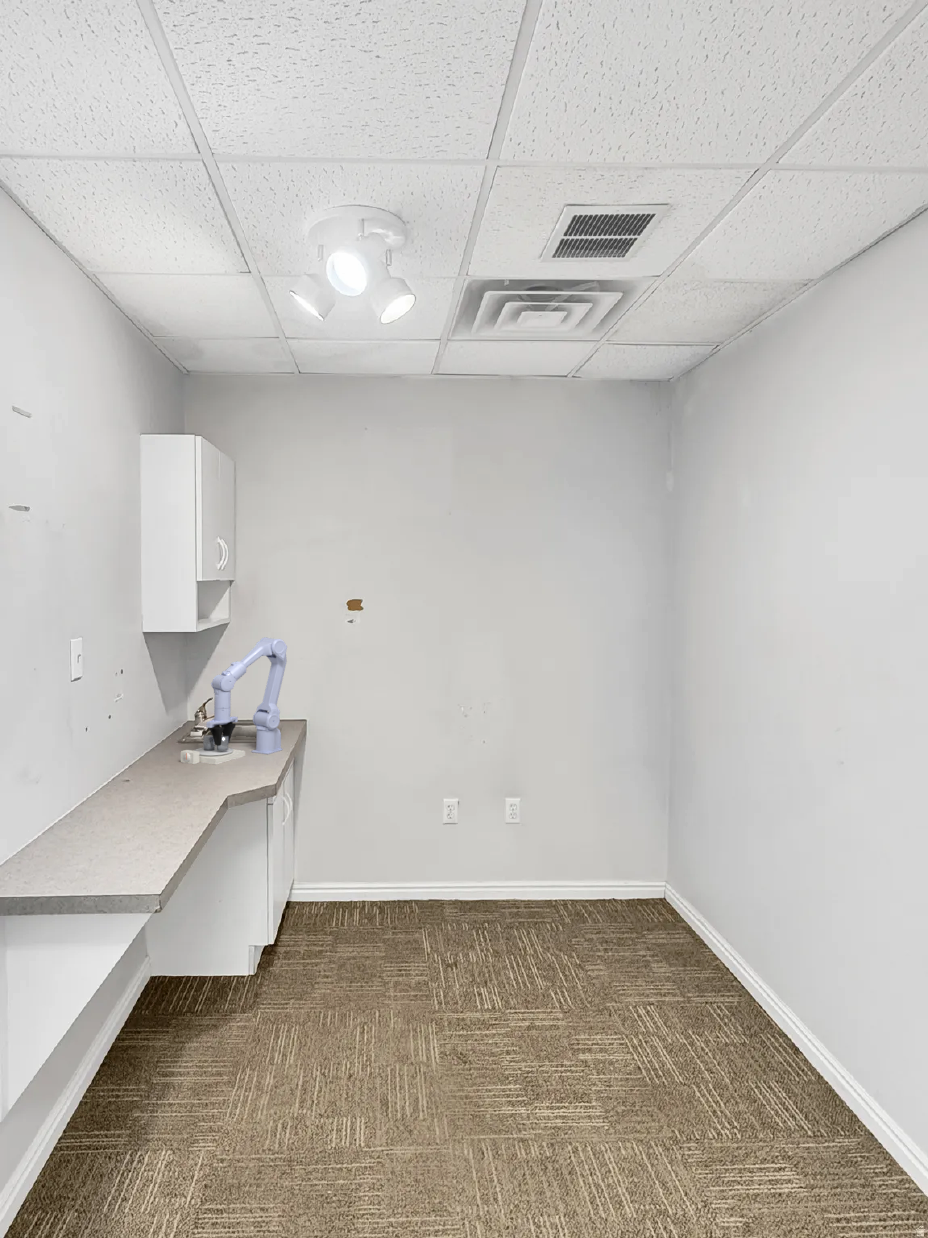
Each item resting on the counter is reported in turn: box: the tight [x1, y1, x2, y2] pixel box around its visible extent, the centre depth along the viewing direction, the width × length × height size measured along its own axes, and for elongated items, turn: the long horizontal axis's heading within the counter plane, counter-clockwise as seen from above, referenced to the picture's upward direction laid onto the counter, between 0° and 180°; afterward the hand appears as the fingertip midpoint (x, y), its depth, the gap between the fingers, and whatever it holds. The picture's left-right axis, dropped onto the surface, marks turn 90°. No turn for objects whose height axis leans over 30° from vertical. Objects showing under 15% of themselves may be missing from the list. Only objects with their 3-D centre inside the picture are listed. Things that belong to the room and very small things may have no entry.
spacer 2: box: [216, 734, 229, 751], centre depth 309 cm, size 4×4×5 cm
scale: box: [180, 745, 246, 765], centre depth 309 cm, size 20×16×4 cm
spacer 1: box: [202, 734, 216, 751], centre depth 312 cm, size 4×4×5 cm
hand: (222, 744), depth 309 cm, fingers closed on spacer 2, 4 cm apart
